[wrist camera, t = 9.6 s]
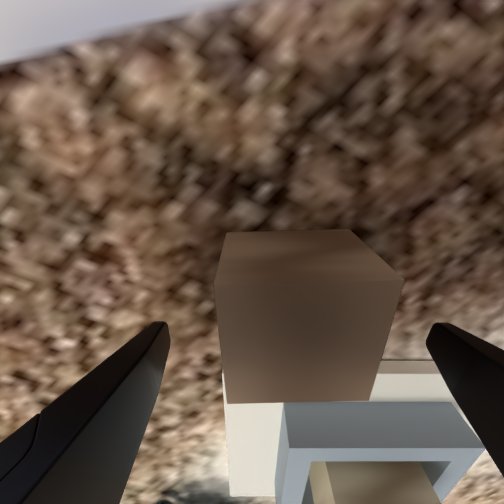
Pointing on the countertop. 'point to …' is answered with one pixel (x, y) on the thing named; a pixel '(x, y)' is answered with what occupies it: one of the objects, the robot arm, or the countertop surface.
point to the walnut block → (302, 315)
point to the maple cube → (370, 483)
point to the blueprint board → (351, 434)
